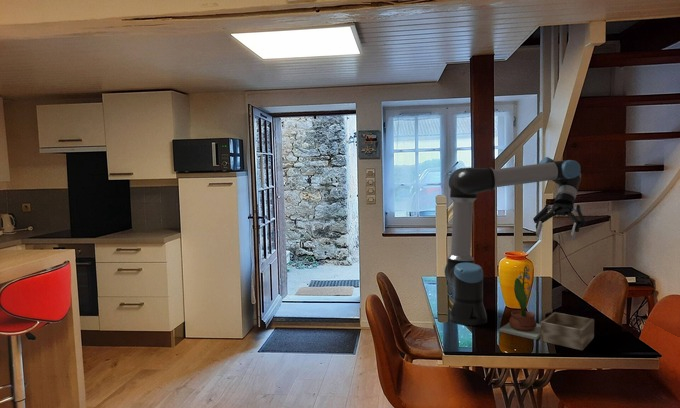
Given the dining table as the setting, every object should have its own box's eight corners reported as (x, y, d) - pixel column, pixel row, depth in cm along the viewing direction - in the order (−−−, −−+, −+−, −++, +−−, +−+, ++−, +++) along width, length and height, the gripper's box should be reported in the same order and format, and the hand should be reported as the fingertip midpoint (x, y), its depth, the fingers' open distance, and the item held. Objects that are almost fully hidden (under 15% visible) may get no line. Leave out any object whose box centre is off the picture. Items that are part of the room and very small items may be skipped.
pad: (499, 331, 172) (499, 328, 172) (514, 321, 184) (514, 318, 184) (536, 339, 162) (536, 337, 162) (549, 328, 174) (550, 326, 174)
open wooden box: (540, 340, 161) (540, 322, 161) (554, 329, 173) (554, 312, 173) (582, 350, 152) (582, 330, 152) (593, 337, 164) (594, 319, 163)
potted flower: (514, 320, 181) (514, 260, 180) (540, 325, 175) (541, 263, 174) (505, 328, 172) (506, 265, 170) (533, 334, 166) (534, 268, 164)
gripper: (599, 204, 185) (589, 244, 175) (537, 203, 202) (525, 239, 192) (596, 192, 181) (586, 232, 171) (533, 192, 198) (521, 228, 188)
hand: (554, 236), depth 181 cm, fingers open, 13 cm apart
